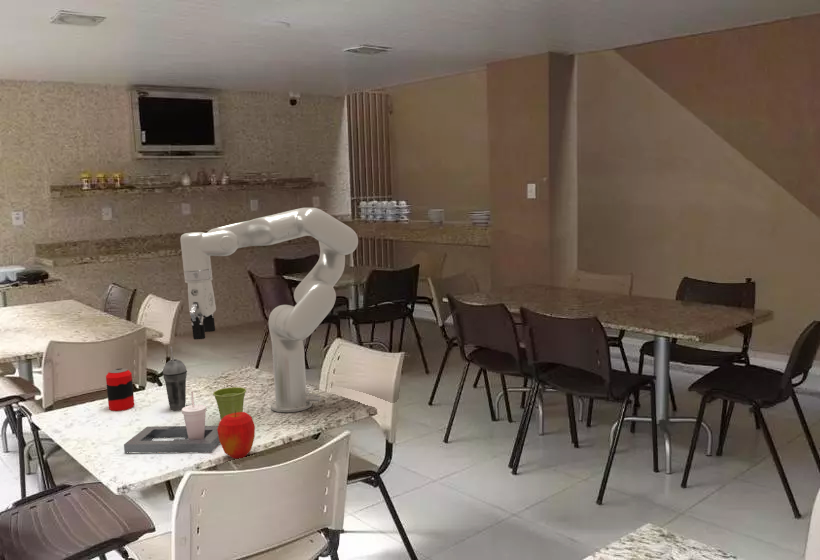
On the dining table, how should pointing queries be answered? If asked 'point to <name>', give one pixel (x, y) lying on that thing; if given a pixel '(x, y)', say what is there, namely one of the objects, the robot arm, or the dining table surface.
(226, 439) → the apple
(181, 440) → the keyhole plate
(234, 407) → the plant pot
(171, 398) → the beverage cup
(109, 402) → the soda can
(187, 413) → the smoothie
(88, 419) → the dining table surface
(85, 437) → the dining table surface
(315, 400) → the robot arm
